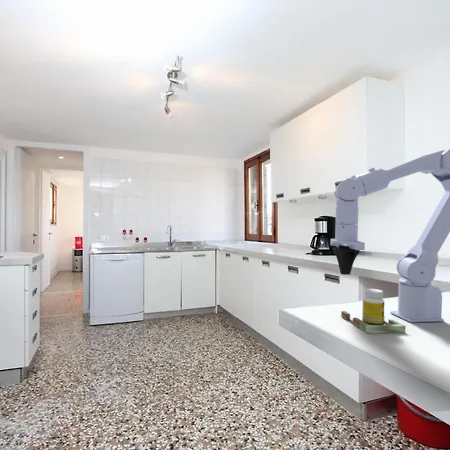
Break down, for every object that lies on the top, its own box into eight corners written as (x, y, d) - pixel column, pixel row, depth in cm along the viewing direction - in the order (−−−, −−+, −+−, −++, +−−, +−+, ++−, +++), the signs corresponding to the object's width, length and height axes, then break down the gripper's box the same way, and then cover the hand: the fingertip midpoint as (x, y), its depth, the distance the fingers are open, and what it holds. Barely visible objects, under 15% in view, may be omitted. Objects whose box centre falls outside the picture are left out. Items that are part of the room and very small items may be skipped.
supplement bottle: (386, 329, 73) (387, 293, 73) (364, 327, 74) (365, 291, 74) (380, 322, 78) (381, 288, 78) (360, 321, 79) (361, 287, 79)
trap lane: (373, 316, 83) (373, 310, 83) (405, 332, 71) (405, 325, 71) (341, 316, 82) (341, 311, 82) (368, 333, 70) (368, 326, 70)
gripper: (321, 223, 92) (319, 269, 93) (346, 224, 78) (345, 279, 78) (343, 224, 93) (342, 269, 94) (372, 225, 79) (371, 279, 79)
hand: (345, 274), depth 86 cm, fingers closed
